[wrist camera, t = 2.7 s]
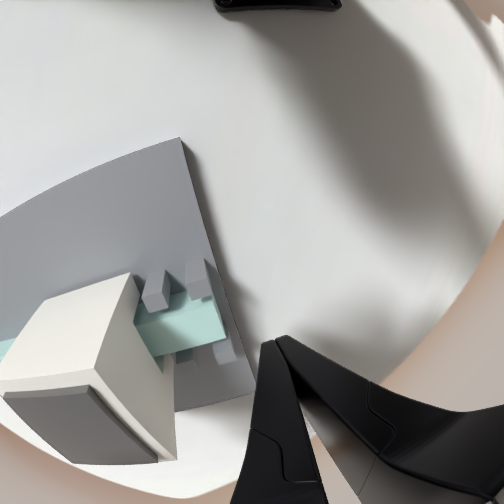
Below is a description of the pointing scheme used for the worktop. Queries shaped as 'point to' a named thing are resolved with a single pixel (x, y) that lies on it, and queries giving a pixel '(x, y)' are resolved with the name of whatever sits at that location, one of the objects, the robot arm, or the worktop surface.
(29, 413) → the sleeve
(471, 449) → the robot arm
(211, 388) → the comb board
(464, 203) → the worktop surface
